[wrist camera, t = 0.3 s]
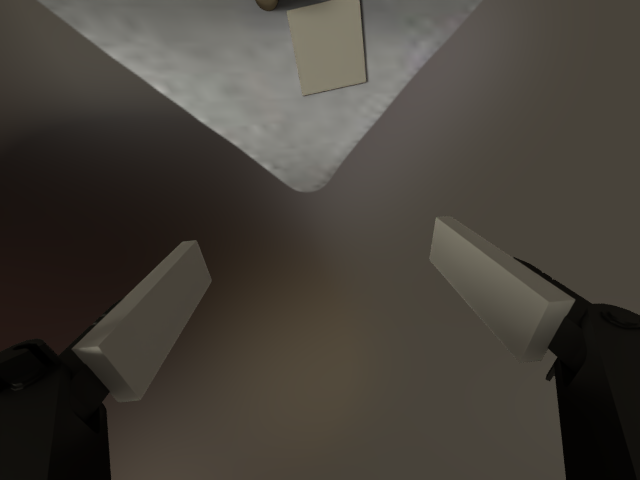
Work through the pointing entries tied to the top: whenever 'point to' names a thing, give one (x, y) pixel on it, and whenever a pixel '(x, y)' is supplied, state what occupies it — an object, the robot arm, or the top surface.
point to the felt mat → (328, 45)
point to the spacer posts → (267, 4)
